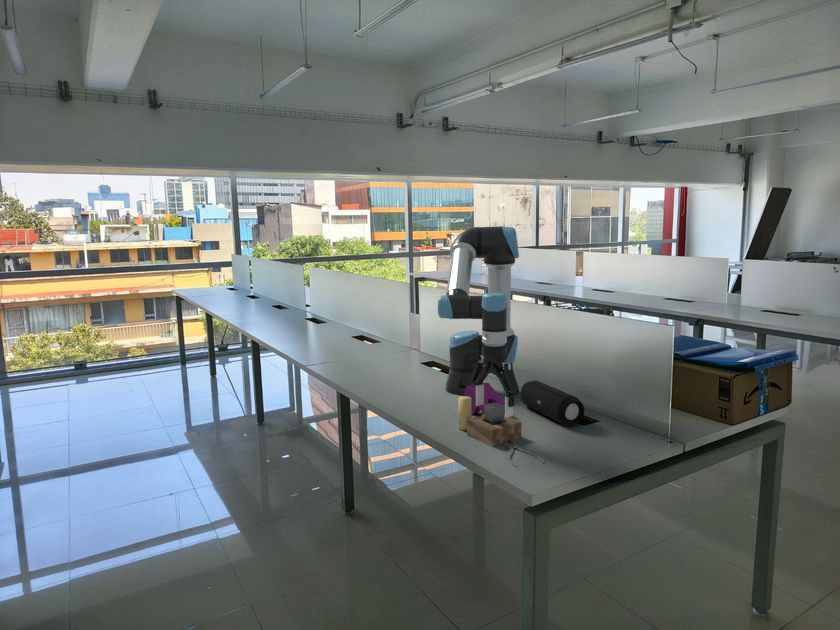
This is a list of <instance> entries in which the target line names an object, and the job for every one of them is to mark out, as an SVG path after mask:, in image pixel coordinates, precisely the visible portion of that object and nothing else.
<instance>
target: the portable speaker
mask: <svg viewBox="0 0 840 630" xmlns="http://www.w3.org/2000/svg"><path fill="white" fill-rule="evenodd" d="M519 391H520V395H519V396H520V399H521V401H522V402H523V404H524V405H525V406H527V407H528V408H530V409H533V410H534V411H536V412H538V413H540V414H542V415H544V416H546V417H548V418H550V419H552V420H554V421H556V422H558V423H560V424H562V425H565V426H575V425H578V424H579V423H580V422H581V421H582V420H583V418H584V415H585V406H584V404H583V402H582V401H581V400H580V398H578V397H577V396H574V395H572V394H571V393H568V392H565V391H562V390H560V389H559V388H556V387H554V386H551V385H548V384H546V383H544V382H542V381H540V380H529V381H526V382H525V383H524V384H523V385H522V386H521V389H520V390H519Z"/></svg>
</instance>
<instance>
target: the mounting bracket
mask: <svg viewBox="0 0 840 630" xmlns="http://www.w3.org/2000/svg"><path fill="white" fill-rule="evenodd" d="M481 385H482V384H481ZM483 385H484V404H483V405H480V406H476V394H475V385H471V386H466V389H465V392H464V394H463V396H467V397H471V409H472V415H476V414H478V413H480V412H481V413H482V415H485V405H486V404H490V403H498V404H500V405H503V406H504V415H505V399H503V398H502V397H501V396H500V394H499V392H497V391H496V389H495V388H493V386H492V385H491V384H490V383H489V382H483Z"/></svg>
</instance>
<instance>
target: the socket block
mask: <svg viewBox="0 0 840 630" xmlns="http://www.w3.org/2000/svg"><path fill="white" fill-rule="evenodd" d="M484 418H485V415H484V414H481V415H478V416H474V417H472V418H470V419H467V430H466V436H467V435H468V436H469V437H471V438H474V439H476V440H478V441H480V442H482V443H484V444H486V445H488V446H491V447H495V446H497V445H498V446H499V445H501V444H502V442H503V441H506V442H507V443H508V442H511V441H510V439H512V440H514V441H515V440H518V439H520V438H522V421H520V420H518V419H516V418H512V417H507V418H506V417H505V415H504V423H500V424H497V425H491V424H488V423H486V422H484ZM502 445H503V444H502Z"/></svg>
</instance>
